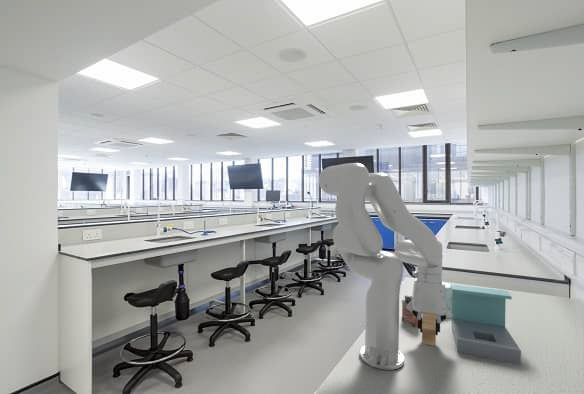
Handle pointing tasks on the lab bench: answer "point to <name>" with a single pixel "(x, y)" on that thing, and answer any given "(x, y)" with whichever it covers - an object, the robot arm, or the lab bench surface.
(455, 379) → the lab bench surface
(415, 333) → the lab bench surface
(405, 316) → the lighter
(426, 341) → the peg
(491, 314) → the socket block
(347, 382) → the lab bench surface
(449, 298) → the skincare box
